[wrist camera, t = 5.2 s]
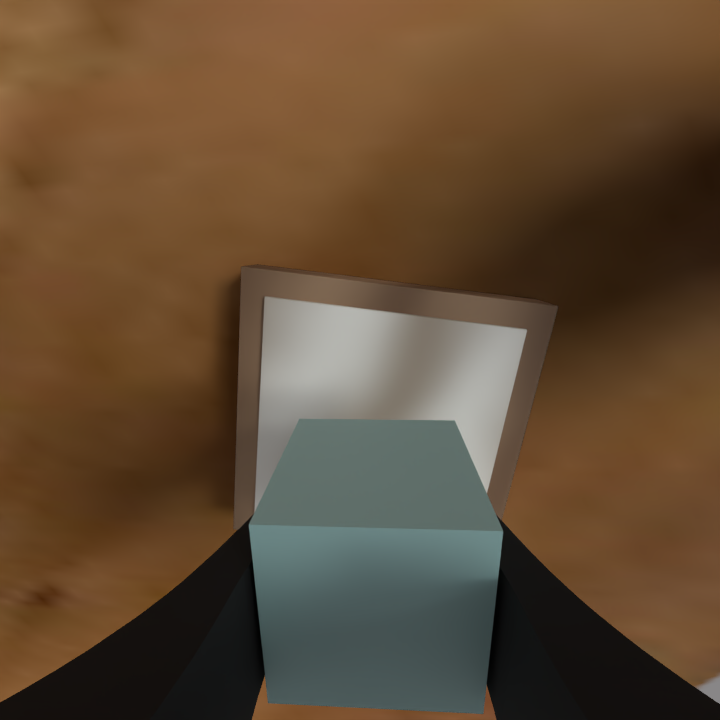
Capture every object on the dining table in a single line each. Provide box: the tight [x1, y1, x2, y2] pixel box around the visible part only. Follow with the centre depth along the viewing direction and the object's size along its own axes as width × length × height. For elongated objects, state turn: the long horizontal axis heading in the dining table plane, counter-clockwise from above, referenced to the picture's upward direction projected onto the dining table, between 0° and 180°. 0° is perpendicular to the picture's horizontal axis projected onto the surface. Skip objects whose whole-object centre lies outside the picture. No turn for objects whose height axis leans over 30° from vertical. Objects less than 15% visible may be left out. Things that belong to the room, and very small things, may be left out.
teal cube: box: [249, 419, 503, 714], centre depth 10 cm, size 4×4×4 cm
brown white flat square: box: [234, 265, 558, 530], centre depth 17 cm, size 12×12×2 cm
